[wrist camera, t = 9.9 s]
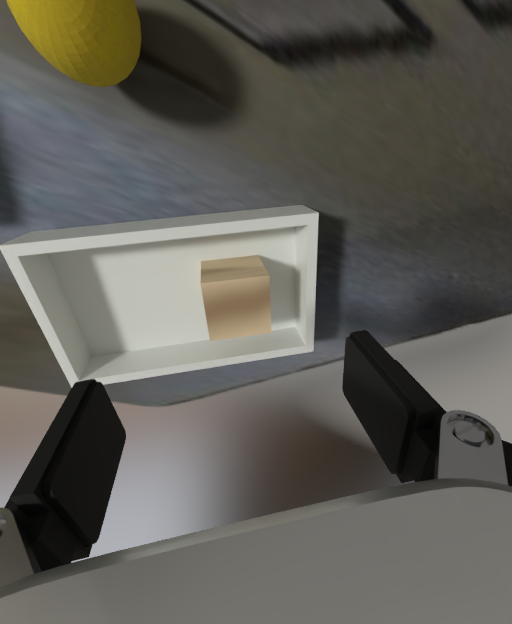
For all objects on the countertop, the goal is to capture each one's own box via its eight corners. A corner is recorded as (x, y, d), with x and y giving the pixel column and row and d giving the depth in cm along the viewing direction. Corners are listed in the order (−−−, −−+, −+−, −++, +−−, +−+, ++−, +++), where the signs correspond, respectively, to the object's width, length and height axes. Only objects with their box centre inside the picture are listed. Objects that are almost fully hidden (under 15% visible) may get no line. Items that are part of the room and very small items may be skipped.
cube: (260, 305, 28) (271, 332, 23) (208, 311, 27) (210, 341, 23) (258, 254, 25) (269, 275, 21) (200, 261, 25) (200, 283, 20)
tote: (302, 204, 24) (318, 212, 21) (300, 329, 30) (313, 351, 27) (30, 231, 22) (-2, 245, 18) (88, 360, 28) (72, 389, 25)
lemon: (146, 110, 20) (116, 84, 13) (55, 79, 18) (-37, 31, 11) (156, 4, 17) (125, -100, 10) (52, -42, 16) (-67, -197, 9)
